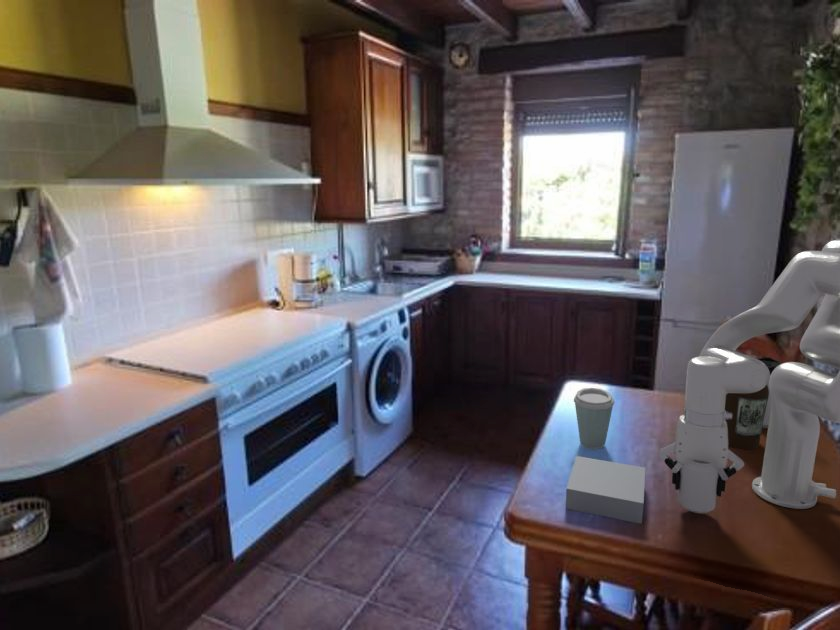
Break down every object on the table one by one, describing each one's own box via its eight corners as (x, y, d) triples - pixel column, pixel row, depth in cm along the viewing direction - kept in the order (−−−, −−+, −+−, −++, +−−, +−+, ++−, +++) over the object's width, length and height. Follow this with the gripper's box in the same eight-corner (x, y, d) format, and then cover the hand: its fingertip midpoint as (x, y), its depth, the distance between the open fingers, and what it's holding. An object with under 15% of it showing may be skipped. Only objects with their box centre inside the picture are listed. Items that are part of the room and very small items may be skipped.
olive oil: (711, 432, 159) (720, 350, 153) (749, 433, 158) (760, 350, 152) (728, 450, 149) (739, 362, 143) (769, 451, 148) (782, 362, 142)
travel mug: (771, 422, 165) (781, 358, 161) (771, 430, 160) (781, 365, 155) (747, 417, 169) (756, 355, 164) (746, 425, 163) (755, 361, 158)
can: (682, 492, 126) (686, 444, 123) (718, 503, 122) (723, 453, 119) (673, 507, 121) (676, 458, 118) (710, 519, 116) (715, 468, 113)
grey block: (643, 486, 132) (645, 467, 131) (641, 524, 118) (643, 503, 117) (575, 474, 138) (576, 455, 137) (565, 508, 124) (566, 488, 123)
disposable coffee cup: (614, 454, 148) (618, 402, 144) (573, 451, 150) (575, 400, 146) (608, 436, 158) (611, 387, 154) (569, 434, 160) (572, 386, 156)
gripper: (748, 413, 116) (740, 487, 120) (658, 403, 123) (654, 474, 127) (754, 428, 109) (745, 506, 114) (658, 417, 116) (653, 492, 120)
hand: (697, 489), depth 120 cm, fingers closed on can, 7 cm apart
